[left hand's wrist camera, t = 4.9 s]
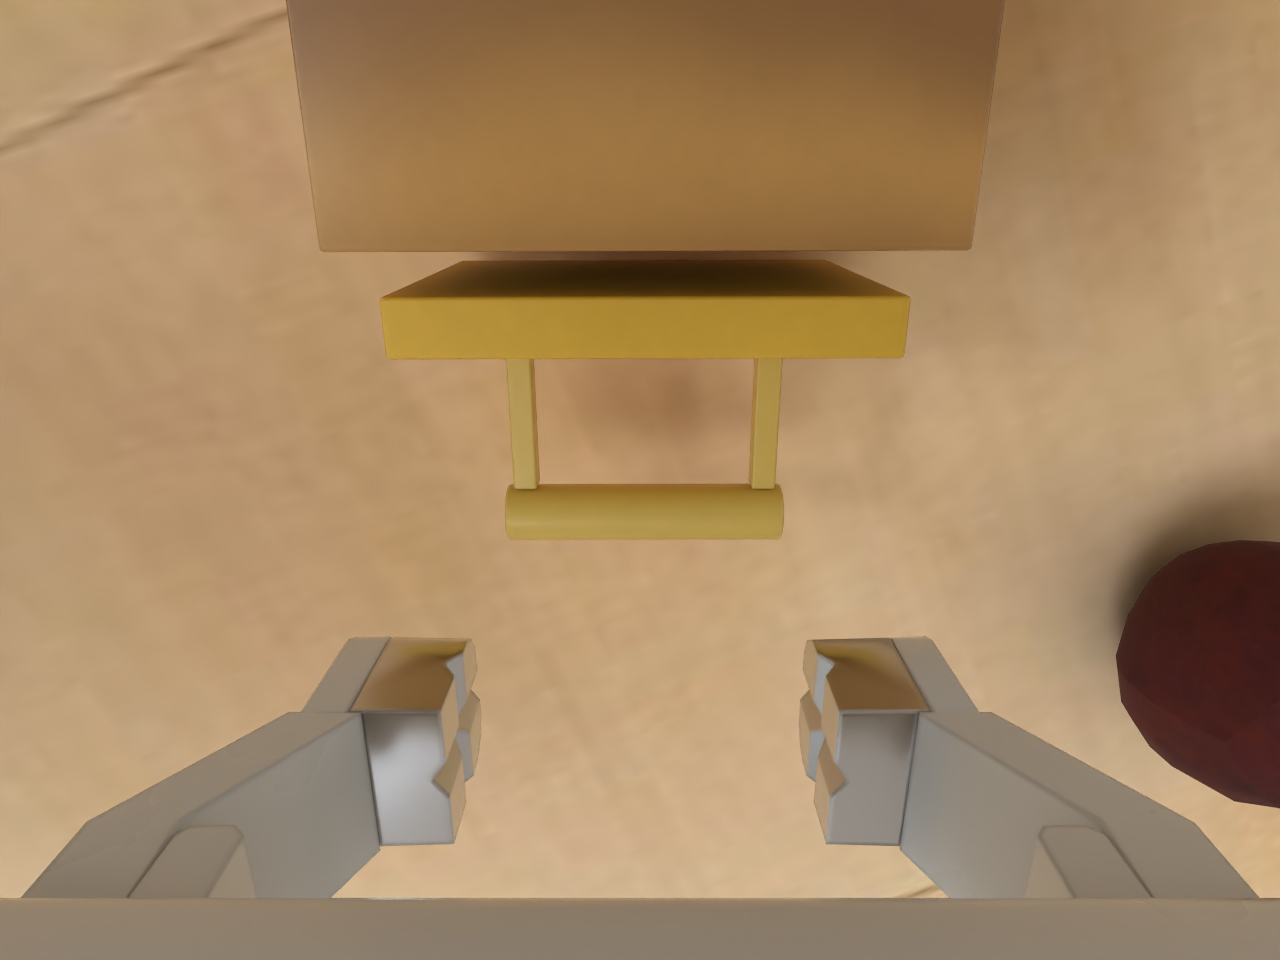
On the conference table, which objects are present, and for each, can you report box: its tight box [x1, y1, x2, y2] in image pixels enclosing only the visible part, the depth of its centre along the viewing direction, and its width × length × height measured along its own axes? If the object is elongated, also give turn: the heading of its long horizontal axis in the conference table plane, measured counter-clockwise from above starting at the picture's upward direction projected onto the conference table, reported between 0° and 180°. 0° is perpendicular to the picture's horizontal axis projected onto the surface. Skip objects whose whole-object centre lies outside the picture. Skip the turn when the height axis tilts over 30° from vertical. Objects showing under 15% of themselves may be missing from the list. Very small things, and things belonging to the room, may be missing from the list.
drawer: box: [380, 260, 910, 540], centre depth 17 cm, size 23×10×7 cm, turn 0°
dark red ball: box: [1116, 540, 1280, 808], centre depth 24 cm, size 7×8×7 cm
